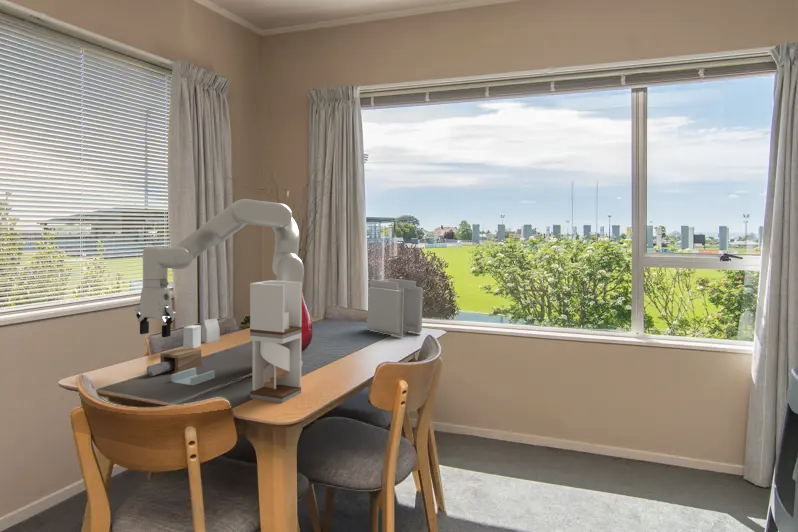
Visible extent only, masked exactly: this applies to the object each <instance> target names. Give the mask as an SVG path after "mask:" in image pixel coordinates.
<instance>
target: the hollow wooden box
mask: <svg viewBox="0 0 798 532" xmlns="http://www.w3.org/2000/svg"><path fill="white" fill-rule="evenodd" d="M159 354H160V356H159V357H160V363H161V362H165V361H169V360H172V359H175V370H171V371H168V372H169V373H174V374H175V373H178V372H181V371H185V370H188V369H191V368H196V369H197V368H199V367H201V366H202V348H201V349H196V348H189V347H183V346H182V347H178V348H175V349H171V350H167V351H162V352H160V353H159Z"/></svg>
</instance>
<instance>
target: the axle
mask: <svg viewBox="0 0 798 532" xmlns="http://www.w3.org/2000/svg"><path fill="white" fill-rule="evenodd" d="M171 370H175V359H172V360H169V361H165V362H161V361H160V362H159V363H155V364H151V365H148V366H147V367H146V374H147V375H148V377H154V376H159V375H161V374H164V373H167V372H169V371H171Z"/></svg>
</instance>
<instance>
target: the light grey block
mask: <svg viewBox="0 0 798 532" xmlns="http://www.w3.org/2000/svg"><path fill="white" fill-rule="evenodd" d="M220 336H221V335H220V326H219V321H218V318H208V319H204V320H203V322H202V326H201V343H203V342H206V343H205V344H209V343H208V342H211V343H214V342H213V341H216V342H219V341H218V340H221V339H220Z"/></svg>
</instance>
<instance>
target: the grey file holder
mask: <svg viewBox="0 0 798 532" xmlns="http://www.w3.org/2000/svg"><path fill="white" fill-rule="evenodd" d="M423 290H424V289H423V287H421V286H419V287H418V286H417V282H416V281H414V280H407V279H397V278H390V277H388V279H371V282H370V286H369V287H368V306H367V307H368V313H367V314H368V317H367V318H366V330H367V329H369V330H374V331H378V332H382V333H386V334H389V335H391V334H393V335H392V336H398V337H404V334H407V333H406V332H408V333H409V332H413V333H417V334H421V332H422V331H423V296H424V295H423V293H424V292H423ZM403 333H404V334H403Z"/></svg>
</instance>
